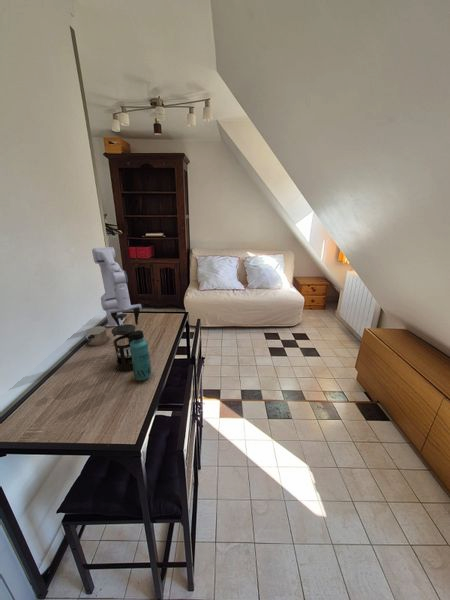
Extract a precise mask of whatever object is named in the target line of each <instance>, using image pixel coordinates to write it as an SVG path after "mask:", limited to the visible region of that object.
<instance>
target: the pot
mask: <svg viewBox="0 0 450 600" xmlns="http://www.w3.org/2000/svg"><path fill="white" fill-rule="evenodd" d="M84 334H85V339H86V343H87V345H88V346H91V347H95V346H100V345H103V344H105V343H106V342H107V341H108V334H107V329H106V326H103V325H99V326H92V327H89V328H88V329H86V330H85V332H84Z"/></svg>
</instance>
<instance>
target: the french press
mask: <svg viewBox="0 0 450 600" xmlns="http://www.w3.org/2000/svg"><path fill="white" fill-rule="evenodd" d="M127 316H128V314H127V313H122V314H119V315H117V316H116V318H120V319H121V320H122V324H121V325H120V326H114V327H113V328H112V329H111V335H113V337H114V340H113V346H114V350H115V355H116V363H117V370H118V371H120V372H123V373H128V372H133V371H134V370H133V364H132V362H131V363H127V362H128V361H132V356H131V349H130V343H131V342H132V341H133V339H132V332H134V331H136V326H135V325H134V324H130V323H129V324H128V323H127V324H126V323H125V324H124V322H123V319H125V318H126V317H127ZM116 336H118V337H116ZM115 337H116V338H115ZM123 339H124V342H125V344H124V345H123V344H122V345H120V344H119V345H118V341H120V340H123ZM127 340H128V344H127Z"/></svg>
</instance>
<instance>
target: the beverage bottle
mask: <svg viewBox="0 0 450 600" xmlns="http://www.w3.org/2000/svg"><path fill="white" fill-rule="evenodd" d="M144 337H145V335H144V331H143V330H139V329H138V330H135V331H134V332H132V339H133V341H132V342H131V343H130V349H131V356H132V360H131V363H132V364H133V371H132V372H133V376H134V378H135V380H137V381H144V380H147V379H149V378H150V377H151V375H152V366H151V360H150V358H151V357H150V352H149V345H148V340H147V339H145V338H144Z"/></svg>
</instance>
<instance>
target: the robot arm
mask: <svg viewBox="0 0 450 600" xmlns="http://www.w3.org/2000/svg"><path fill="white" fill-rule="evenodd" d="M91 251H92V257H93V262H94V264H97V265H98V266H99V269H100V273H101V278H102V279H101V280H102V283H103V288H104V293H103V295H102V296H100V304H101V308H102V310H103V311H105V314H106V319H107V324H106V325H105V328H109V327H111V328H112V327H117V326H120V325H122V320H121V319H120V318H116V316H117V315H119V314H123V313H125V312H129V311H133V316H134V323H135V325H136V326H137V325H139V322H138V321H139V317H140V316H139V315H140V312H141V309H142V304H141V303H137V304H132V303H131V299H130V294H129V289H128V282H129V279H128V274H127V271H126V270H123V269H122V268H121V266H120V264H119V263H118V262H116V261H115V259H116V250H115V248H114V247H113V246H106V247H93V248H92V250H91ZM125 320H126V318H123V323H124V322H125Z"/></svg>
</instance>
